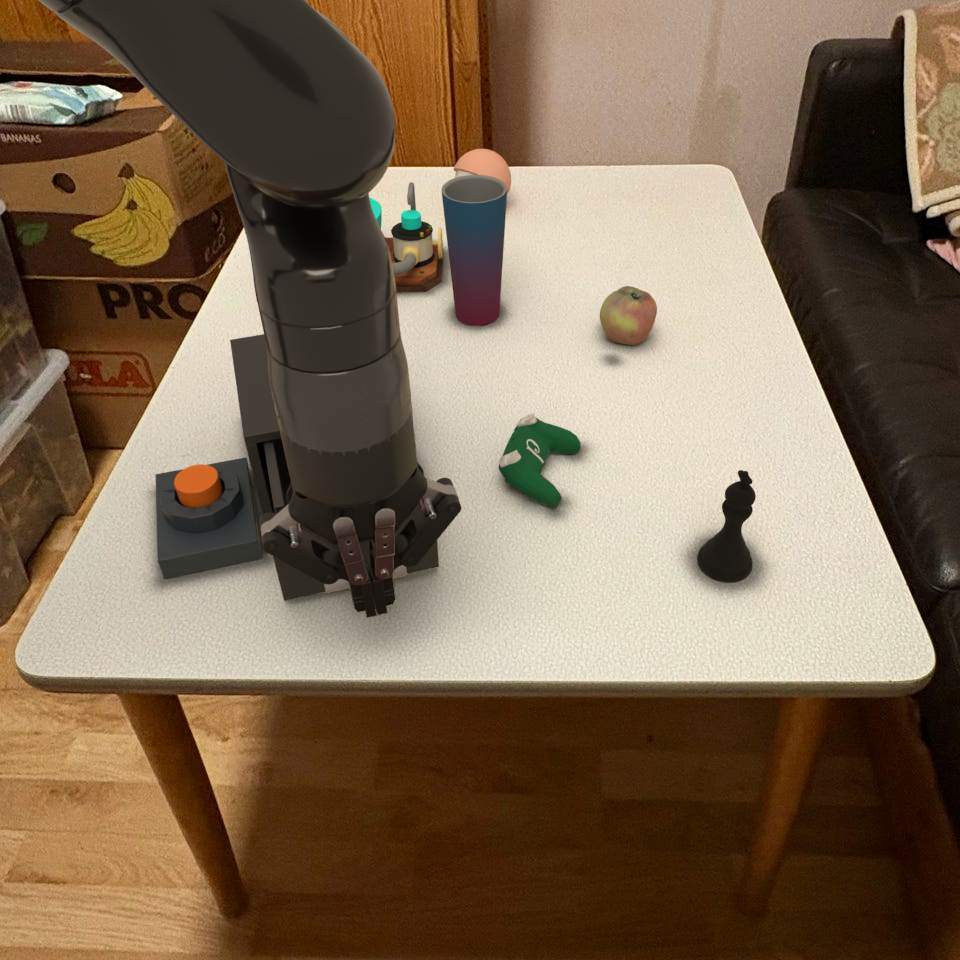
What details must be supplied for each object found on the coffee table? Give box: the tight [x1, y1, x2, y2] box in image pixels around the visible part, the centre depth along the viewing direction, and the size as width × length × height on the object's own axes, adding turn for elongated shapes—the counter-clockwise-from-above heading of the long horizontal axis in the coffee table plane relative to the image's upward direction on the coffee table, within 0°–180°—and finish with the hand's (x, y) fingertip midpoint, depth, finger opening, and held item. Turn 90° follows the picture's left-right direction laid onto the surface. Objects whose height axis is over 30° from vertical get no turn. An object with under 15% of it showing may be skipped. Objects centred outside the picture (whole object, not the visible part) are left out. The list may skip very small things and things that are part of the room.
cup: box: [441, 175, 508, 327], centre depth 99 cm, size 7×7×15 cm
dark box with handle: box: [263, 439, 440, 602], centre depth 73 cm, size 18×12×8 cm
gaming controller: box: [498, 412, 581, 508], centre depth 82 cm, size 9×4×6 cm
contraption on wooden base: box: [369, 181, 445, 293], centre depth 106 cm, size 14×18×15 cm
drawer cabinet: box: [229, 333, 281, 515], centre depth 83 cm, size 15×14×10 cm
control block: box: [155, 457, 263, 580], centre depth 78 cm, size 11×8×4 cm
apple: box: [599, 285, 658, 346], centre depth 97 cm, size 6×8×6 cm
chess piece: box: [696, 469, 757, 583], centre depth 71 cm, size 4×4×10 cm
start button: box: [174, 463, 222, 508], centre depth 76 cm, size 4×4×2 cm
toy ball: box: [453, 148, 512, 195], centre depth 122 cm, size 8×8×8 cm
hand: (375, 606), depth 62 cm, fingers closed
